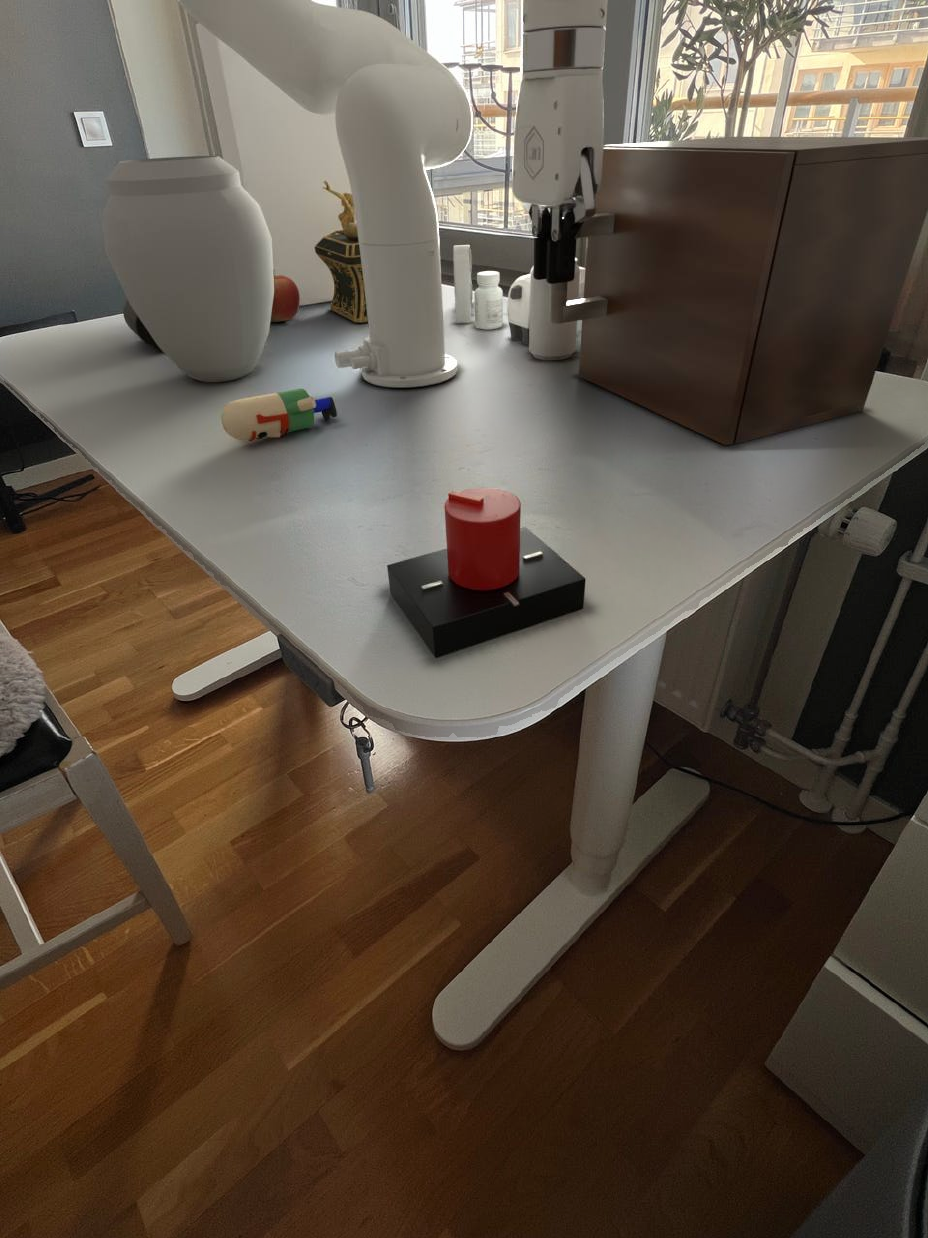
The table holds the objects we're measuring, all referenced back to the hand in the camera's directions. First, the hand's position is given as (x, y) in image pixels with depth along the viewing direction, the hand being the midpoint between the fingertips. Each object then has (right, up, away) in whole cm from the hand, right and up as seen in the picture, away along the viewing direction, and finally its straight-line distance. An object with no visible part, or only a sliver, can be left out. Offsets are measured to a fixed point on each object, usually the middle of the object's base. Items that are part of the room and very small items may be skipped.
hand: (553, 278), depth 72 cm
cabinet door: (+8, -14, +2) cm, 16 cm away
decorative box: (-27, +16, +44) cm, 54 cm away
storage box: (-39, +25, +57) cm, 74 cm away
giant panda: (+3, +6, +29) cm, 30 cm away
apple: (-41, +14, +43) cm, 61 cm away
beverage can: (+2, 0, +21) cm, 21 cm away
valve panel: (-8, -36, -26) cm, 45 cm away
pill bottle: (-6, +10, +35) cm, 37 cm away
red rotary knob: (-8, -33, -27) cm, 44 cm away
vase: (-43, -3, +20) cm, 47 cm away
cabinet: (+20, -10, +7) cm, 23 cm away
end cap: (-57, +6, +33) cm, 66 cm away
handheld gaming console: (-10, +16, +43) cm, 47 cm away
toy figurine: (-30, -17, +1) cm, 34 cm away
